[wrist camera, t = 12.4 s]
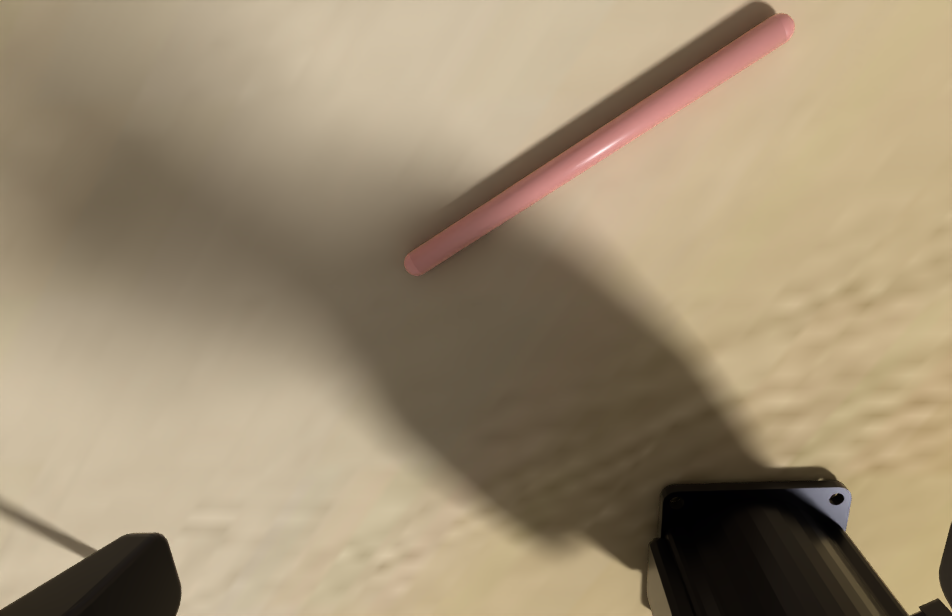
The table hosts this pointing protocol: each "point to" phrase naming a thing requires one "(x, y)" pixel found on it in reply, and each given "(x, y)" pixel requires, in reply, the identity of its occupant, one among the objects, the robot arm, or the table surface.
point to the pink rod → (604, 141)
